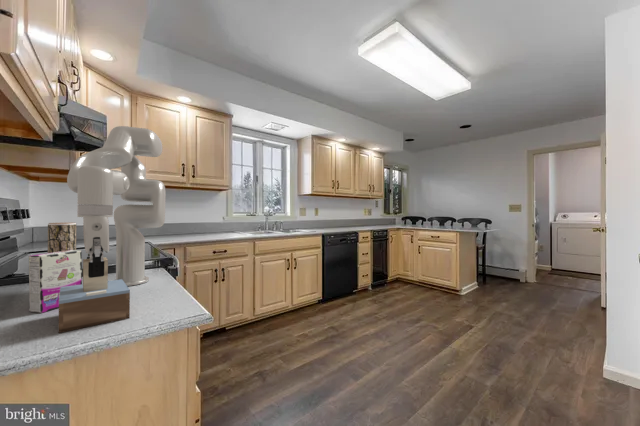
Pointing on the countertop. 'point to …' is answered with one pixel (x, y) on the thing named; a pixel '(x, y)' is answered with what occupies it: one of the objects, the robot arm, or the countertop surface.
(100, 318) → the walnut box
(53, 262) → the candy bar box
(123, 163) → the robot arm
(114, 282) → the box lid
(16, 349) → the countertop surface
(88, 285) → the birch block
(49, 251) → the bark log
